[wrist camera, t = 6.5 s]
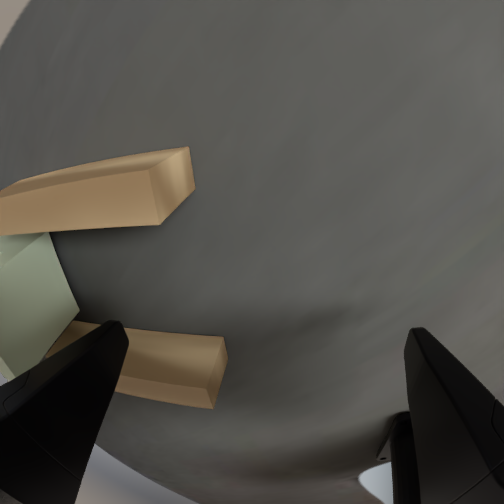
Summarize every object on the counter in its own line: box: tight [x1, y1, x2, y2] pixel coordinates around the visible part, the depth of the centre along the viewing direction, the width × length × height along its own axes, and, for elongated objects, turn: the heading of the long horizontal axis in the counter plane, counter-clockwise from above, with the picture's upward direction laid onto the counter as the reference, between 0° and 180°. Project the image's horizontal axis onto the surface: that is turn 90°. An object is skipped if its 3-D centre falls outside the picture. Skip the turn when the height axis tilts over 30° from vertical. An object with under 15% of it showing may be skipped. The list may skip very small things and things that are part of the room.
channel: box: [0, 147, 228, 409], centre depth 12 cm, size 10×9×3 cm
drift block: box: [0, 232, 80, 380], centre depth 11 cm, size 5×6×6 cm
